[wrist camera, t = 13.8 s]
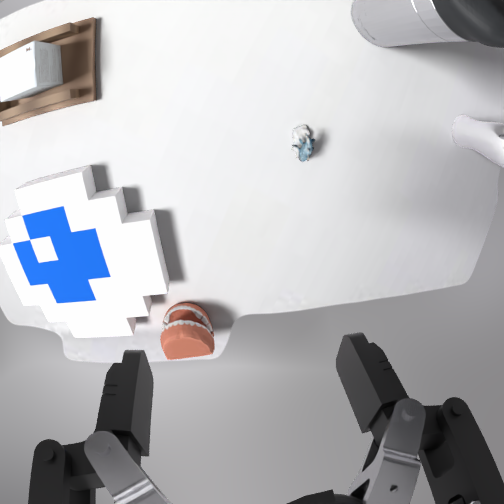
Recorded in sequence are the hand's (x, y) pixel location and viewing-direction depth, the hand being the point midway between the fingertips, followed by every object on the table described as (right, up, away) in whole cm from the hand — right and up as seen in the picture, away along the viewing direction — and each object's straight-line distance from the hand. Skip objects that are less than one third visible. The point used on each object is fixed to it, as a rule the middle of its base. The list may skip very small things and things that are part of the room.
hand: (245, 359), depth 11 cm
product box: (-27, +28, +16) cm, 42 cm away
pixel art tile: (-27, +4, +32) cm, 42 cm away
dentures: (-11, -6, +40) cm, 42 cm away
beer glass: (+37, +26, +29) cm, 54 cm away
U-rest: (-28, +29, +16) cm, 43 cm away
